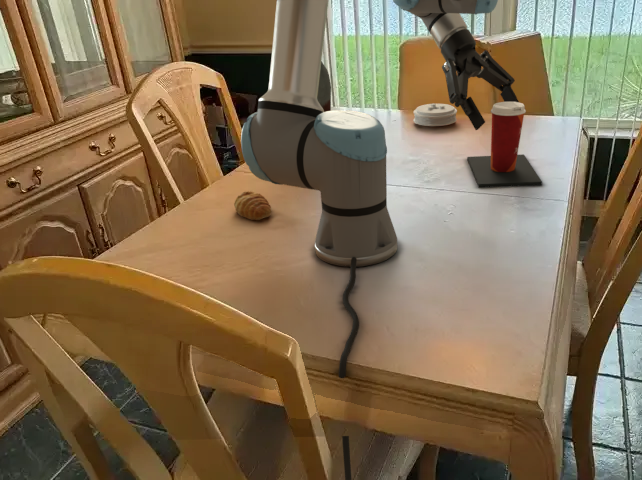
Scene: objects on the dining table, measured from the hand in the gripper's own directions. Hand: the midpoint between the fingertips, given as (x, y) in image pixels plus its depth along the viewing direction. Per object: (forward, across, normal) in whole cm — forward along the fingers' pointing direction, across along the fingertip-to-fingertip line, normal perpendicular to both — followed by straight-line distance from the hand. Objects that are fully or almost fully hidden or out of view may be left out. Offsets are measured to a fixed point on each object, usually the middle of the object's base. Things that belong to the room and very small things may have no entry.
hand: (500, 120), depth 140 cm
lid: (-20, -21, -36) cm, 46 cm away
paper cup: (+9, 0, -6) cm, 11 cm away
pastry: (-6, +55, -23) cm, 60 cm away
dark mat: (+9, 0, -7) cm, 11 cm away
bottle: (-21, +22, -38) cm, 48 cm away
